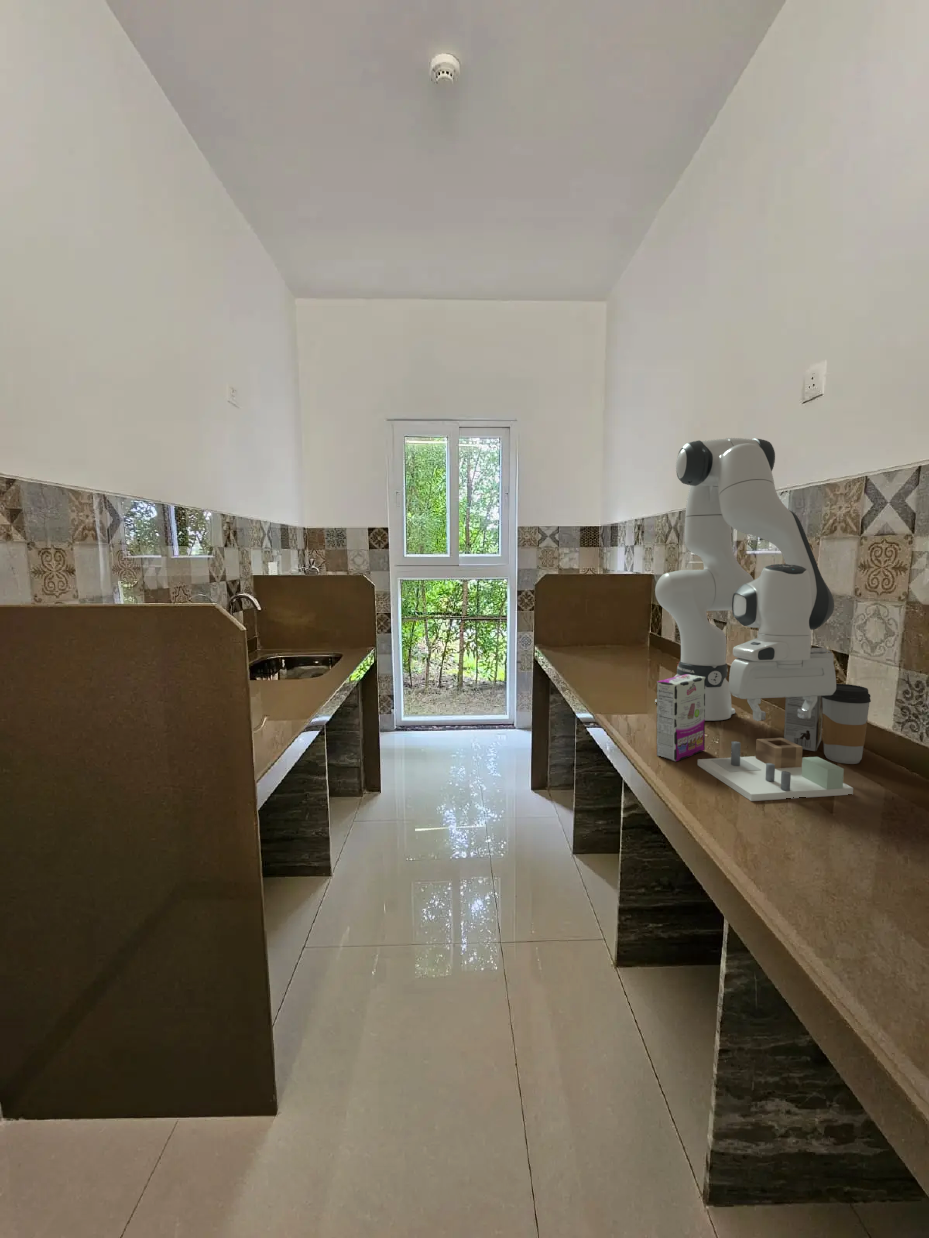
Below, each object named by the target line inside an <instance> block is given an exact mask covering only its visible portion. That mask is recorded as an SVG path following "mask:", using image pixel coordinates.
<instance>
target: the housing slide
mask: <svg viewBox="0 0 929 1238" xmlns="http://www.w3.org/2000/svg"><path fill="white" fill-rule="evenodd" d="M844 773H845V768H843V767H842V766H839V765H838V764H837V765H836V764H834V763H833V762H831V761H828V760H825V759H823V758H821V757H819V756H808V757H802V776H803V777H804V778H806V779H808V780H810V781H812V782H814V783H816V784H818V785H820V786H822V787H824V788H826V789H838V788H843V783H844Z"/></svg>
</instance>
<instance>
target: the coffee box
mask: <svg viewBox="0 0 929 1238" xmlns="http://www.w3.org/2000/svg"><path fill="white" fill-rule="evenodd" d="M804 702H805V699H803V696H802V697H785V704H784V705H785V706H784V707H785V708H784V710H785V711H784V728H783V729H784V730H783V731H784V732H783V738H784V739H786V740H788V741H791V742H793V743H795V744H797V745H800V746H802V747H803V748H802V750H806V751H811V752H817V751H818V748H819V746H820V744H821V741H822V735H823V719H822V713H823V701H822V697H821V696H817V702H816V704H815V706H814V707H813V709H812V710H811V718H810V719H802V718H799V717H798V708H802V706H803V704H804Z"/></svg>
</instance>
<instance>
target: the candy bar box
mask: <svg viewBox="0 0 929 1238" xmlns="http://www.w3.org/2000/svg"><path fill="white" fill-rule="evenodd" d="M656 699H657V704H656V756H657V757H659V756H661V757H664V758H663V759H665V758H666V759H665V760H667V761H669V760H670V761H672V762H679V761H681V760H684V759H686V758H689V757H692V756H694V755H696V754H698V753H701V752H703V751H705V747H706V746H705V743H706V739H705V738H706V734H705V733H706V730H705V728H706V720H705V677H702V676H696V675H691V674H685V675H681V676H677V677H674V676H673V677H669V678H665V679H661V680H656ZM661 757H660V758H661Z"/></svg>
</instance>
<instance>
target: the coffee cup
mask: <svg viewBox="0 0 929 1238" xmlns="http://www.w3.org/2000/svg"><path fill="white" fill-rule="evenodd" d="M821 697H822V701H823V710H822V741H823V754H824V755H825V758H826V759H828V760H830V761H833V762H835V763H840V764H848V765H849V764H850V765H854V764H857V765H858V764H859V763H860V762H861V760H862V758H863V753H864V752H863V751H864V747H865V742H866V733H867V728H868V717H869V716H868V715H869V708H870V703H871V701H872V700H871V693H869V688H867V687H864V686H862V685H861V686H860V685H854V684H846V683H836V690H835V692H834V693H833V695H825V696H821Z"/></svg>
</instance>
